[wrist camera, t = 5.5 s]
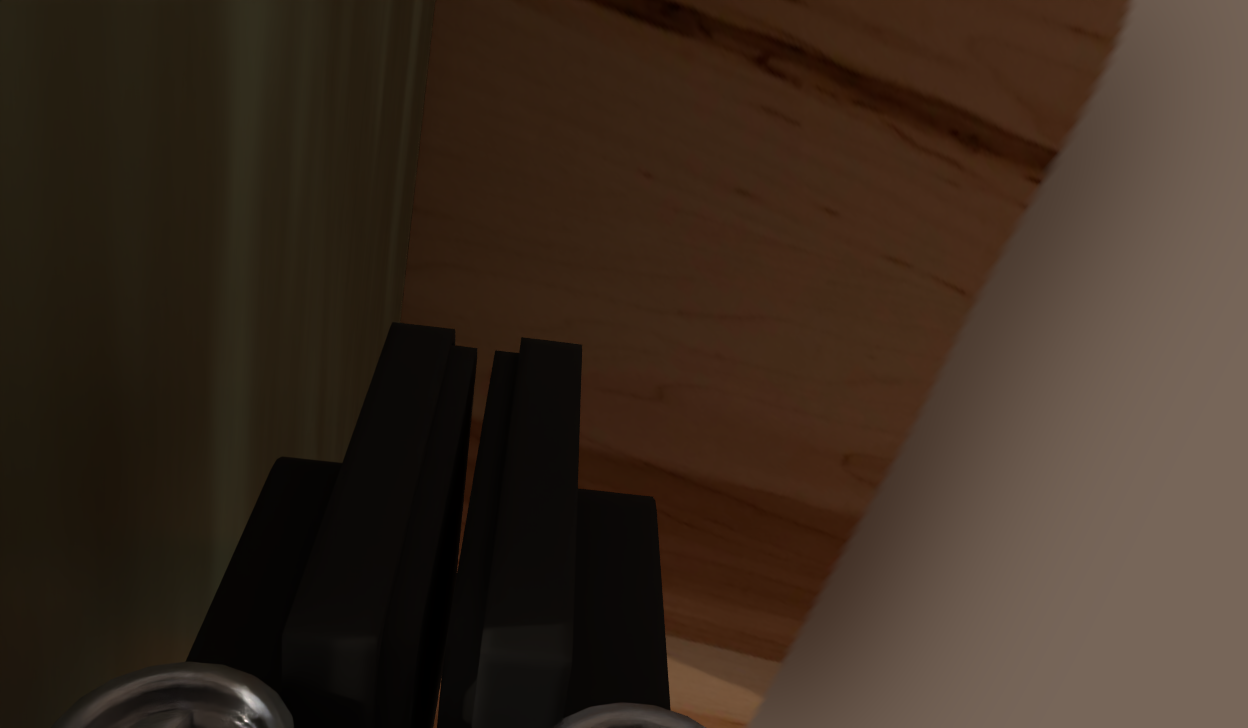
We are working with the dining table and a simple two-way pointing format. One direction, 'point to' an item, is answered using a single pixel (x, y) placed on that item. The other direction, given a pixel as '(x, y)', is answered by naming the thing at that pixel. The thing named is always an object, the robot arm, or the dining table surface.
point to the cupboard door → (181, 298)
